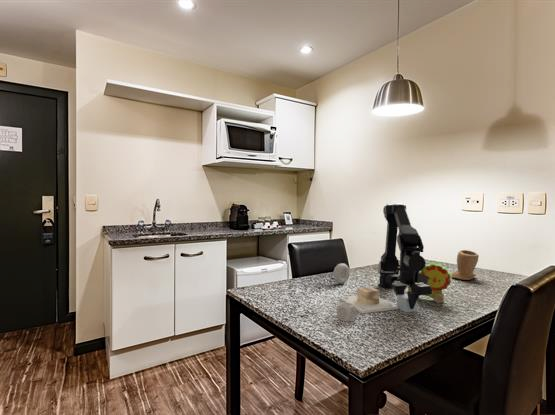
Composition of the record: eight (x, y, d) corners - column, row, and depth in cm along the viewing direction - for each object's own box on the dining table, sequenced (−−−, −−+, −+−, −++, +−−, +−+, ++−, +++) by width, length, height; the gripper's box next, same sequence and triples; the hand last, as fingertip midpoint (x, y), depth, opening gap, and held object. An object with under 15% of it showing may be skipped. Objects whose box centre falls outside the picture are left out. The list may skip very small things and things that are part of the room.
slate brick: (407, 306, 122) (407, 293, 122) (416, 311, 117) (417, 297, 117) (396, 307, 120) (397, 294, 120) (405, 312, 116) (406, 298, 115)
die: (356, 319, 108) (356, 304, 108) (349, 323, 105) (349, 308, 105) (343, 315, 112) (344, 301, 112) (336, 319, 108) (336, 304, 108)
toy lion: (406, 298, 132) (407, 262, 132) (408, 294, 137) (409, 260, 137) (449, 305, 124) (451, 266, 124) (450, 301, 129) (451, 264, 129)
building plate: (372, 296, 134) (372, 292, 134) (398, 309, 119) (398, 305, 119) (339, 299, 129) (339, 295, 129) (361, 313, 114) (361, 309, 114)
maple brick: (370, 298, 127) (370, 286, 127) (379, 303, 122) (379, 290, 122) (357, 300, 125) (357, 287, 125) (365, 304, 120) (366, 291, 120)
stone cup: (473, 283, 158) (474, 253, 157) (448, 278, 167) (449, 250, 166) (482, 278, 168) (483, 250, 168) (458, 274, 177) (459, 247, 176)
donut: (345, 281, 157) (346, 261, 157) (351, 283, 154) (351, 262, 154) (331, 284, 151) (331, 263, 151) (336, 286, 149) (337, 265, 148)
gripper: (445, 269, 112) (443, 313, 112) (407, 259, 130) (406, 297, 130) (419, 271, 108) (418, 316, 109) (385, 260, 126) (384, 299, 127)
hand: (406, 306), depth 119 cm, fingers closed on slate brick, 5 cm apart
